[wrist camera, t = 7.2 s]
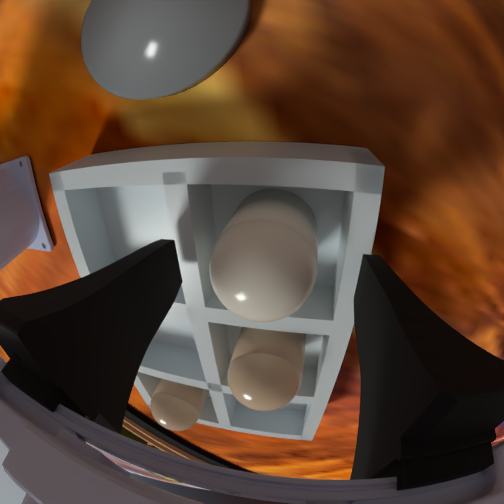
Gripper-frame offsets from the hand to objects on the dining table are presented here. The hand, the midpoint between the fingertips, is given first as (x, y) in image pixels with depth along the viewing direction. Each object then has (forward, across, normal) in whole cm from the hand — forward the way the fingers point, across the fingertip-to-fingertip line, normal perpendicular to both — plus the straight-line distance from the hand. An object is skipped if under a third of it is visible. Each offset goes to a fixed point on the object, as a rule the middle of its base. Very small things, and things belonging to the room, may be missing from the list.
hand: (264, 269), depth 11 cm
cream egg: (+3, 0, 0) cm, 3 cm away
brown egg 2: (+3, 0, +7) cm, 8 cm away
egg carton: (+4, +4, +7) cm, 9 cm away
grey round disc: (+4, +6, -11) cm, 13 cm away
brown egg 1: (+3, +7, +14) cm, 16 cm away
